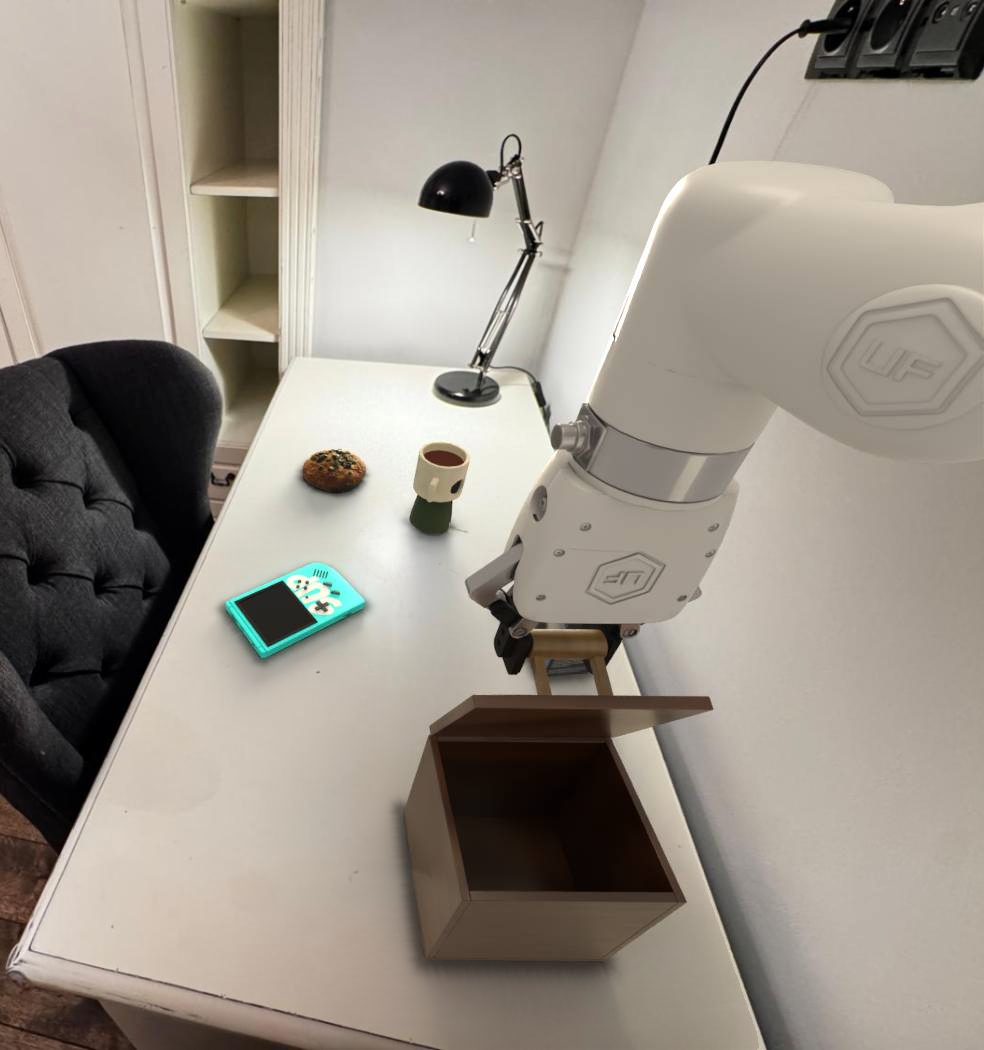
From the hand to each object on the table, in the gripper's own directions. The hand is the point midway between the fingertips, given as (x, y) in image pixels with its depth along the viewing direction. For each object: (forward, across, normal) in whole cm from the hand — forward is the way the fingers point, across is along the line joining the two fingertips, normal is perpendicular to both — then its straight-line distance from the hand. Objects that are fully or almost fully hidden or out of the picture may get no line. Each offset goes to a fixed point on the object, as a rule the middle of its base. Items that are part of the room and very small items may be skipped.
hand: (547, 656), depth 41 cm
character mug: (+23, +4, +42) cm, 48 cm away
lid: (+3, 0, -4) cm, 5 cm away
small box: (+24, +14, +20) cm, 34 cm away
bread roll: (+23, -10, +56) cm, 61 cm away
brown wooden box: (+23, 0, -7) cm, 24 cm away
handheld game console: (+23, -18, +25) cm, 38 cm away
